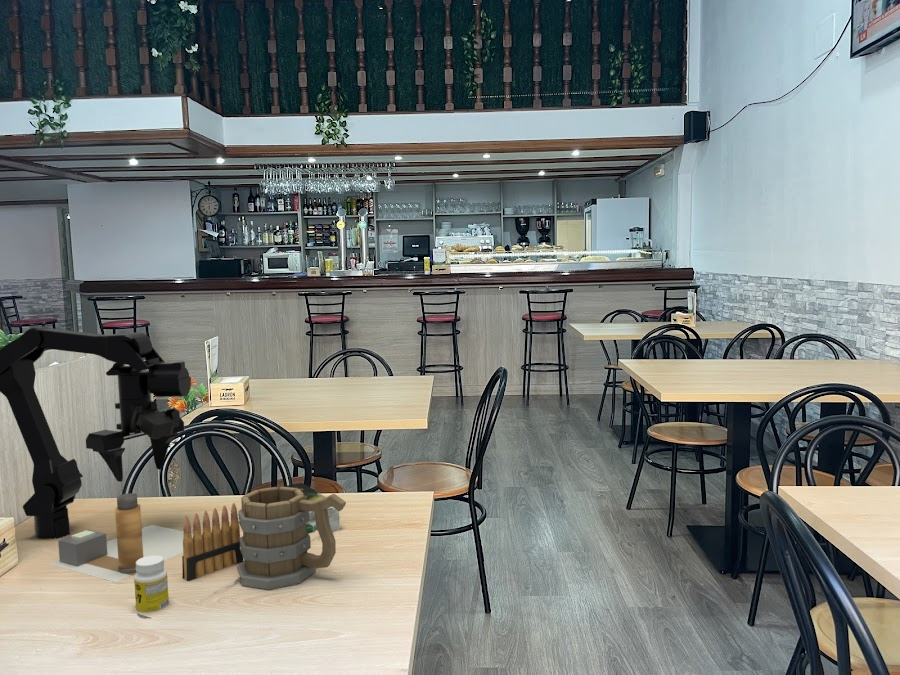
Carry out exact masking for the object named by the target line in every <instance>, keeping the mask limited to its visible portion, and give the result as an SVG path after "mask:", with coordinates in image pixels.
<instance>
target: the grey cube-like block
mask: <svg viewBox="0 0 900 675" xmlns="http://www.w3.org/2000/svg"><path fill="white" fill-rule="evenodd" d="M107 540H108V539H107V532H106V533H105V532H102V531H96V530H92V529H86V530H83V531H80V532H79V533H75V534H73V535H68V536H65V537H64V538H63V537H62V538H60V539H58V540H57V544H58V545H57V546H58V556H59V557H58V558H59V560H60V562H62V563H66V564H70V565H73V566H77V567H78V566H80V565H83V564H85V563H88V562H90V561H93V560H95V559H98V558H100V557H103V556H105V555H108V553H107V542H108V541H107Z"/></svg>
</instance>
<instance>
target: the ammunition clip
mask: <svg viewBox="0 0 900 675" xmlns="http://www.w3.org/2000/svg"><path fill="white" fill-rule="evenodd" d="M221 510H222V511H221V526H220V517H219V516H220V515H219V512H218V510H217V508H216V507H215V508H213V512H212V514H211V515H212V516H211V517H212V518H211V519H212V520H210V516H209V513H208V511H207V510H204V513H203V517H202V527H201V520H200V517H199V515H198V513H196V512H195V514H194V518H193V524H192V526H191V523H190V522H191V521H190V519H189V516H187V515H186V516H185V517H184V520H183V530H182V531H184V533H183V553H182V554H183V555H182V556H181V558H182V559H181V560H182V564H181V565H182V571H181V573H182V580H183V579H184V580H185V581H187V582H190V581H192V580H196V579H197V578H199V577H203V576H205V575H206V574H212V573H214V572H215V571H220V570H223V569H224V568H229V567H232V566H233V565H234V566H237V565H239V564H240V563H242V562H243V561H244V558H243V555H242V553H241V551H240V538H241V530H240V528H241V526H240V524H239V522H238V521H239V516H238V509H237V505H236V503H235V502H233V503H232V505H231V508H230V519H229V511H228V509H227V507H226V504H225V505H223V506H222V509H221ZM229 520H230V521H229ZM211 523H212V524H211ZM201 528H202V529H201ZM191 533H193V539H192V534H191Z"/></svg>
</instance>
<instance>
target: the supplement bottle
mask: <svg viewBox="0 0 900 675" xmlns="http://www.w3.org/2000/svg"><path fill="white" fill-rule="evenodd" d="M164 567H165V561H164V559H163V557H162V556H157V555H153V556H146V557H143V558H140V559H139V560H137V561H136V572H137V573H136V574H135V575H133V576H134V577H133V579H134V581H133V582H134V596H135V608H136V610H137V611H138V612H141V613H150V612H156V611H159V610H162V609H163V608H165V607H166V606H168V605H169V603H170V599H169V585H168V584H169V583H168V581H169V580H168V571H167V570H166V568H164ZM136 615H137V616H138V617H139V618H141V619H146V620H147V618H149V619H152V617H150V616H147V615H144V614H140V613H136Z"/></svg>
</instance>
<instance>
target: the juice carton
mask: <svg viewBox="0 0 900 675" xmlns="http://www.w3.org/2000/svg"><path fill="white" fill-rule="evenodd" d="M282 487H290V488H298V489H300V490H301V491H302V493H303V494H304V495H305V500H310V501H317V500H320V499H323V498H326V497H327V496H325V495H323V494H322V493H320V492H319V491H317V490H315V489H314V488H312V487H310V486H308V485H307V484H305V483H302V482H298V483H294V484H289V485H284V486H282ZM327 509H328V516H329V524H330V527H331V529H332V532H333V533H334V532H336V531H340V530H341V527H340V519H341V518H340V511H338V510H336V509H335V508H334V507H332V506H331V507H329V508H327ZM309 519H310V521H309V522H307V523H306V531H307V532H308V534H313V533H315V532H316V531H318V530H317V527H316V520H315V512H312V511H309Z"/></svg>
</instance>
